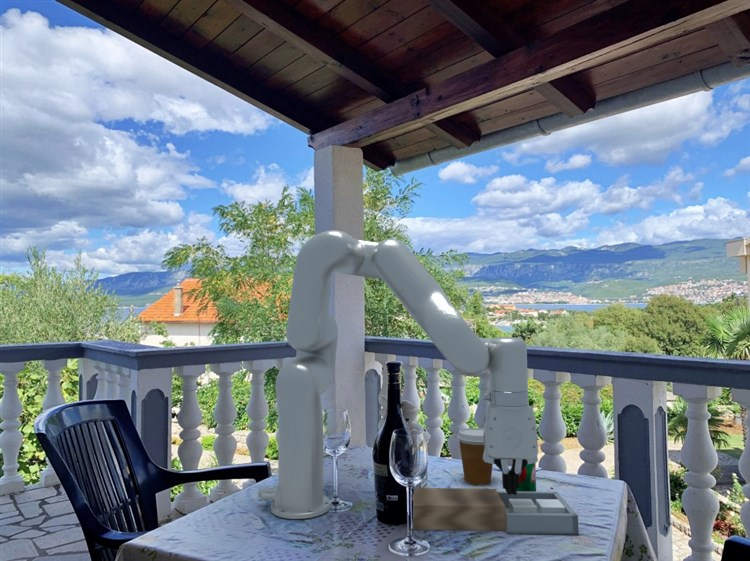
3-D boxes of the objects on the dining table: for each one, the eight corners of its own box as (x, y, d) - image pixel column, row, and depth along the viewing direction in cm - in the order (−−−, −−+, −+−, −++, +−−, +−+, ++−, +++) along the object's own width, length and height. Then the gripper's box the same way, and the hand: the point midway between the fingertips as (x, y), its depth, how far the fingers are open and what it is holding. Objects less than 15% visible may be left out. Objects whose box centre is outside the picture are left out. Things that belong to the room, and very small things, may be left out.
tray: (507, 534, 96) (507, 514, 96) (494, 508, 109) (494, 491, 109) (578, 535, 95) (578, 515, 95) (557, 508, 108) (556, 491, 108)
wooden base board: (410, 529, 98) (410, 505, 99) (409, 509, 108) (409, 487, 109) (505, 530, 97) (505, 506, 98) (496, 510, 107) (495, 488, 108)
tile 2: (565, 507, 100) (565, 523, 100) (558, 499, 104) (558, 514, 104) (541, 507, 100) (542, 523, 100) (535, 499, 104) (536, 514, 104)
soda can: (537, 500, 113) (536, 445, 114) (513, 499, 114) (512, 444, 115) (535, 493, 118) (533, 439, 119) (512, 491, 119) (511, 438, 120)
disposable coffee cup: (451, 477, 129) (450, 429, 130) (485, 474, 132) (484, 426, 133) (469, 489, 120) (468, 437, 121) (505, 485, 123) (504, 434, 124)
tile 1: (513, 522, 100) (513, 507, 100) (509, 514, 105) (508, 498, 105) (537, 523, 100) (536, 507, 100) (531, 514, 104) (531, 499, 105)
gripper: (473, 402, 101) (475, 498, 99) (551, 402, 100) (554, 499, 99) (468, 396, 108) (470, 485, 107) (541, 396, 107) (543, 486, 106)
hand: (510, 492), depth 103 cm, fingers closed
